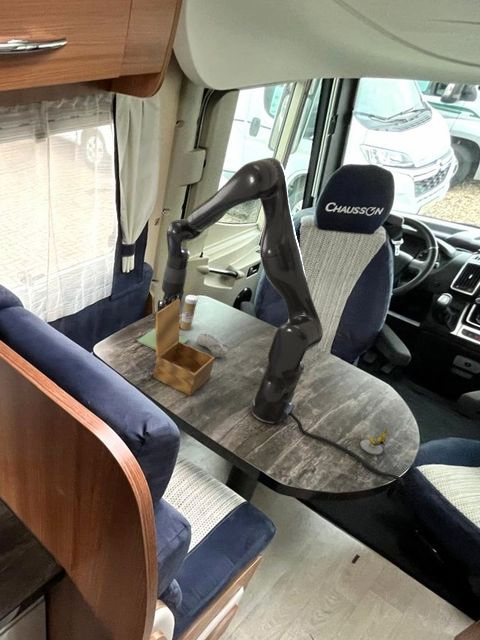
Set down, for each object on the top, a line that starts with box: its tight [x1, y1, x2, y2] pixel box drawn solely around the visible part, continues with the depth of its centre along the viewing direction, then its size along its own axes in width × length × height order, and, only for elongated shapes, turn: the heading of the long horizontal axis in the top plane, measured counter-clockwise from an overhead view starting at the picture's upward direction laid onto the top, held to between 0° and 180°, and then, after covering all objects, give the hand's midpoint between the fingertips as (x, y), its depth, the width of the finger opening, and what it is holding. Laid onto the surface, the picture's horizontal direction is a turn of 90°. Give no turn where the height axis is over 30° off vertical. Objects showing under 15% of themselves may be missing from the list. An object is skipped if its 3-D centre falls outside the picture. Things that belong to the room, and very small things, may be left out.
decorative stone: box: [195, 333, 230, 358], centre depth 163 cm, size 13×7×5 cm, turn 39°
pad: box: [137, 327, 189, 351], centre depth 169 cm, size 14×14×1 cm
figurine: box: [359, 426, 388, 456], centre depth 125 cm, size 6×6×8 cm
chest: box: [152, 341, 216, 396], centre depth 149 cm, size 14×13×9 cm
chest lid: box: [155, 299, 181, 357], centre depth 146 cm, size 15×13×1 cm
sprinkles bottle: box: [179, 294, 199, 331], centre depth 173 cm, size 5×5×14 cm
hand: (166, 320), depth 163 cm, fingers closed on beverage can, 5 cm apart
